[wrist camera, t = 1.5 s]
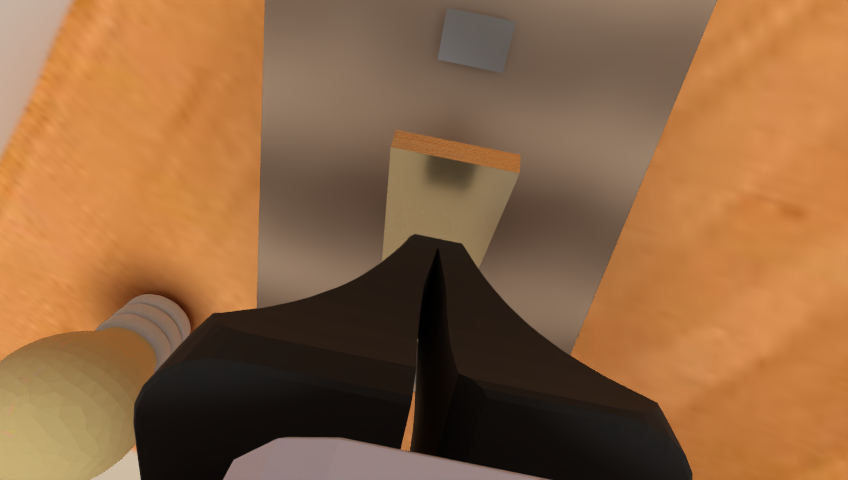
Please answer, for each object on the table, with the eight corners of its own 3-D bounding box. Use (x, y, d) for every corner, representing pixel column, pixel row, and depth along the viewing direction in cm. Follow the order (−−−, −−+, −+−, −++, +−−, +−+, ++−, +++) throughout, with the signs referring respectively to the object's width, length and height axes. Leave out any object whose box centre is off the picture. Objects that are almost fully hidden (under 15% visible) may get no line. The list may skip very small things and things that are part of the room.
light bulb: (169, 249, 24) (-13, 383, 15) (241, 339, 26) (121, 503, 17) (86, 292, 25) (-123, 436, 16) (160, 373, 28) (12, 539, 18)
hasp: (447, 330, 20) (444, 351, 19) (380, 316, 20) (375, 337, 19) (521, 149, 11) (519, 179, 10) (397, 123, 11) (388, 153, 10)
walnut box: (532, 361, 25) (550, 450, 20) (285, 312, 25) (238, 387, 20) (665, 2, 17) (754, -11, 12) (309, -71, 17) (240, -117, 12)
